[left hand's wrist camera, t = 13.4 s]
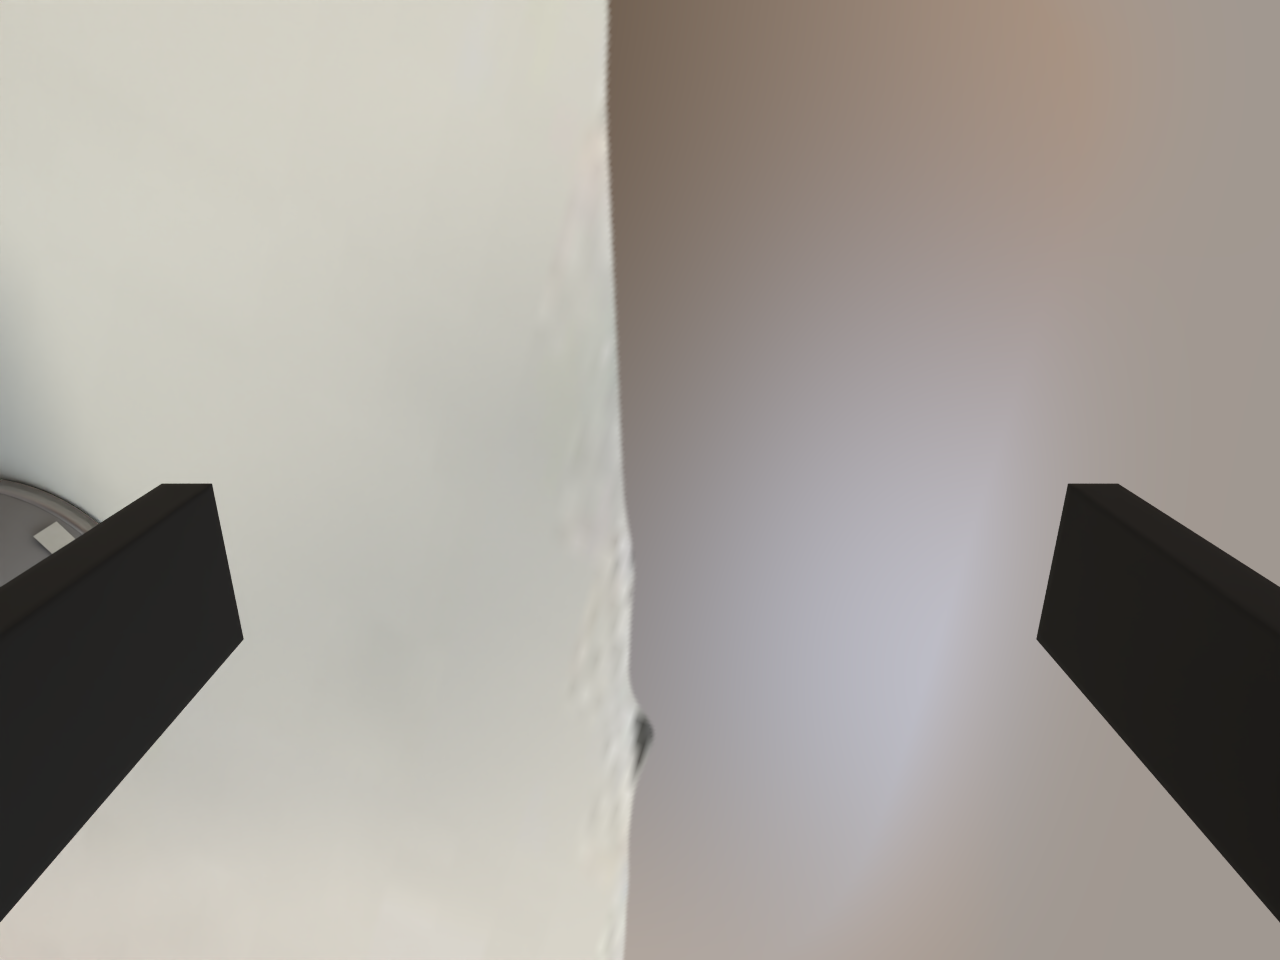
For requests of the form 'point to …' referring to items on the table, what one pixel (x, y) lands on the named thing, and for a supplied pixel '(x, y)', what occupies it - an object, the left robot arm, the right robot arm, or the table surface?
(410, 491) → the table surface
